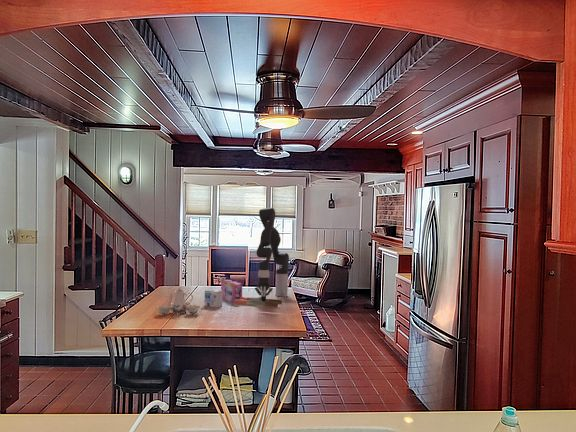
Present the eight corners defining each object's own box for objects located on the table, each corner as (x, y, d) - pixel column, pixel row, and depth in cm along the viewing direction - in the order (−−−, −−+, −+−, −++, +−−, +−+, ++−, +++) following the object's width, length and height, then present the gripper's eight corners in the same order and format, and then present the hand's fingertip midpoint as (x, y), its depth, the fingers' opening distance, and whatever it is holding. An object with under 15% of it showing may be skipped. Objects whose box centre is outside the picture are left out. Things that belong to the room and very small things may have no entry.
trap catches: (240, 301, 325) (240, 296, 325) (251, 301, 323) (251, 297, 323) (234, 304, 315) (234, 299, 314) (246, 304, 312) (246, 300, 312)
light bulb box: (204, 305, 312) (204, 290, 312) (210, 304, 318) (210, 288, 318) (216, 307, 307) (217, 291, 307) (222, 305, 313) (222, 290, 313)
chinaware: (155, 320, 277) (155, 293, 275) (156, 311, 293) (156, 286, 291) (202, 318, 284) (203, 292, 282) (200, 309, 300) (201, 284, 298)
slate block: (253, 302, 319) (253, 295, 319) (261, 303, 318) (261, 296, 318) (250, 304, 314) (250, 297, 314) (259, 305, 312) (259, 297, 312)
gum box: (243, 301, 328) (243, 283, 328) (233, 302, 324) (233, 283, 324) (230, 296, 348) (230, 278, 348) (220, 297, 344) (220, 279, 344)
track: (241, 302, 327) (241, 296, 327) (282, 305, 319) (283, 299, 319) (234, 305, 313) (234, 300, 313) (277, 309, 305) (277, 303, 305)
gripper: (274, 276, 317) (274, 301, 317) (256, 275, 320) (256, 299, 320) (271, 277, 309) (271, 303, 310) (253, 276, 313) (252, 301, 313)
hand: (263, 301), depth 315 cm, fingers closed
